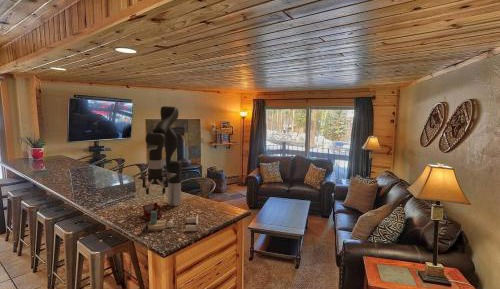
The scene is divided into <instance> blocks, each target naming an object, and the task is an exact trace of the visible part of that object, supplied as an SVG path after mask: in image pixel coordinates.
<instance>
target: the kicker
mask: <svg viewBox="0 0 500 289" xmlns="http://www.w3.org/2000/svg"><path fill="white" fill-rule="evenodd" d="M166 224H167V219H165V218H164V219H163V220H160V219H159V220H158V219H157V211H151V221H149V225H148V228H147V230H159V229H166V226H167V225H166Z"/></svg>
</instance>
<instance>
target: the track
mask: <svg viewBox="0 0 500 289" xmlns="http://www.w3.org/2000/svg"><path fill="white" fill-rule="evenodd" d="M149 223H150V221H148V220H147V221H146V223H145V226H144V228H143V231H144V232H154V231H155V232H156V231H157V232H158V231H160V232H161V231H179V230H180V228H164V229H159V230H148V225H149ZM177 225H179V226H180V225H181V223H174V225H173V226H177ZM165 226H167V223H166V225H165Z"/></svg>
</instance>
